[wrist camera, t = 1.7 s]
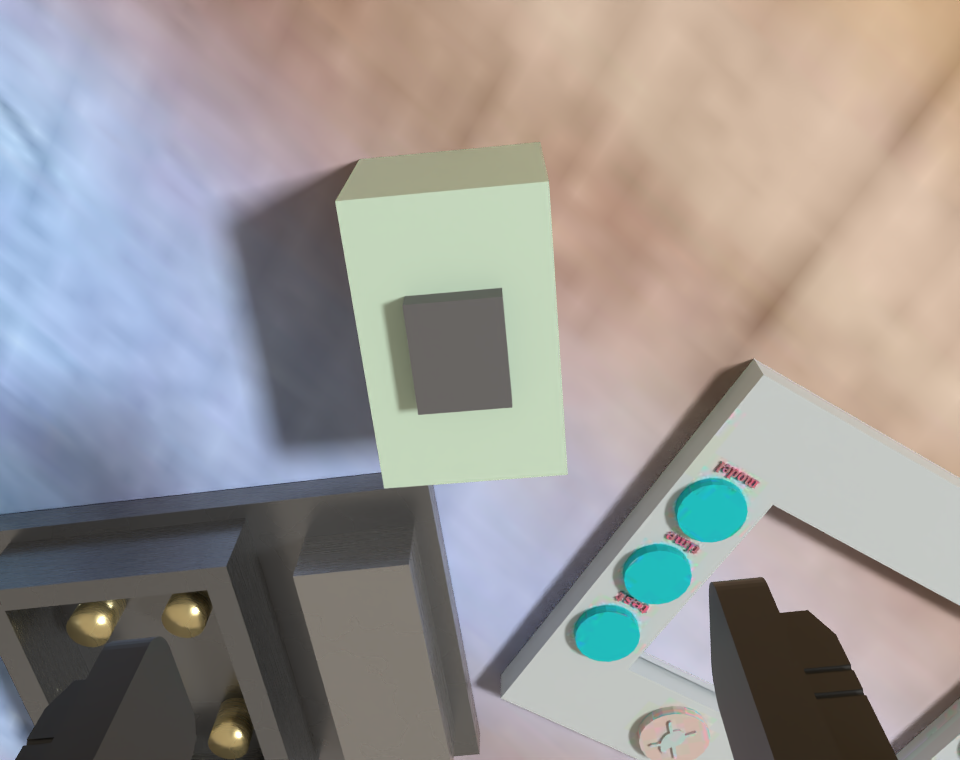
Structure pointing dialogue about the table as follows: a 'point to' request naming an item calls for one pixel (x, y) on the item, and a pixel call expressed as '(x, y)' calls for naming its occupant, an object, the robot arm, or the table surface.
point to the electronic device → (706, 544)
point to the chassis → (255, 614)
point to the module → (457, 313)
